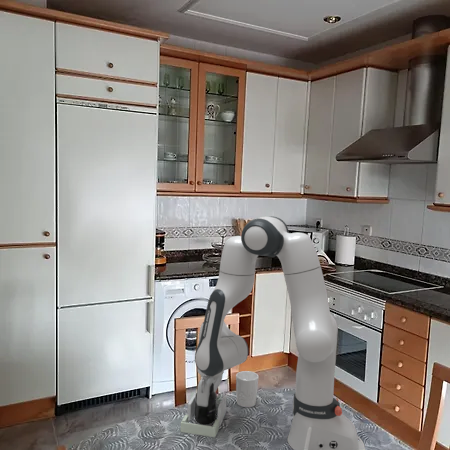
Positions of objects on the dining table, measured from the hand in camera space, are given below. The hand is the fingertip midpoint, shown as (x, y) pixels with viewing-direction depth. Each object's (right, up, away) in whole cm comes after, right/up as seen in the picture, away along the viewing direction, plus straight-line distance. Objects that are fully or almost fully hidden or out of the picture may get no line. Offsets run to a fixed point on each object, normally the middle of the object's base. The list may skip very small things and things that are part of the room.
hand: (209, 406), depth 146 cm
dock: (-2, -3, -11) cm, 12 cm away
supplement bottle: (-1, -2, -5) cm, 6 cm away
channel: (-1, -2, -3) cm, 4 cm away
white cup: (+13, -2, +7) cm, 15 cm away
